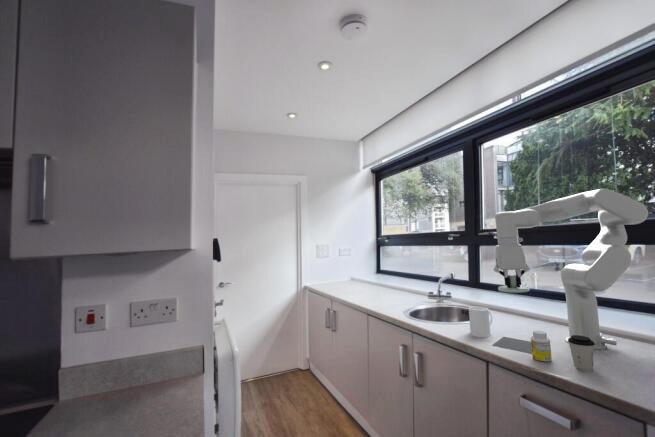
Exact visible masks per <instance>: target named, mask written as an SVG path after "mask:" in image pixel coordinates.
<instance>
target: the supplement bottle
mask: <svg viewBox="0 0 655 437" xmlns="http://www.w3.org/2000/svg"><path fill="white" fill-rule="evenodd" d="M530 342H531V345H532V354H531V355H532V360H533V361H535V362H537V363H541V364H551V363H553V360H552V359H553V358H552V349H551V339H550V338H548V336H547V332H546V331H543V330H533V331H532V336H531V337H530Z"/></svg>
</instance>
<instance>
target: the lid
mask: <svg viewBox="0 0 655 437" xmlns="http://www.w3.org/2000/svg"><path fill="white" fill-rule="evenodd" d="M508 277H509V278H510V288H508V287H507V285H500V286H499V285H498V287H497V290H498V291H499V292H502V293H511V294H513V293H515V294H516V293H521V294H522V293H528V292H530V291H531V288H530V287H529V286H525V285H520V287H517V279H516V274H508Z"/></svg>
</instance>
